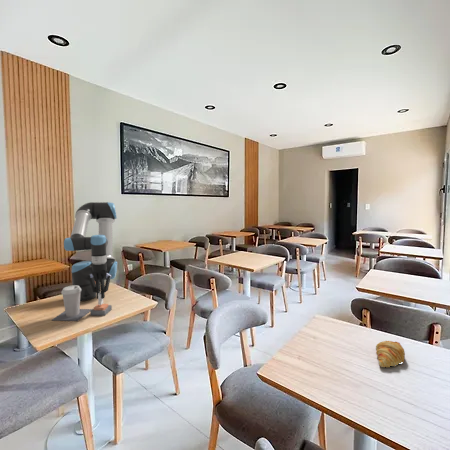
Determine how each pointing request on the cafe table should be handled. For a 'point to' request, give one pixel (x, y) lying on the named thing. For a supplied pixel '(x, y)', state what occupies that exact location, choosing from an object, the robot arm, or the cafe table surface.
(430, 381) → the cafe table surface
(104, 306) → the button
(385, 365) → the croissant
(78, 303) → the coffee cup
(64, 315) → the mat
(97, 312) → the button housing
